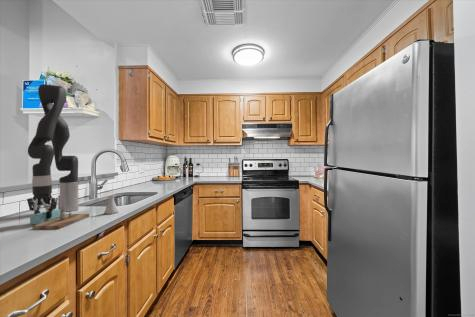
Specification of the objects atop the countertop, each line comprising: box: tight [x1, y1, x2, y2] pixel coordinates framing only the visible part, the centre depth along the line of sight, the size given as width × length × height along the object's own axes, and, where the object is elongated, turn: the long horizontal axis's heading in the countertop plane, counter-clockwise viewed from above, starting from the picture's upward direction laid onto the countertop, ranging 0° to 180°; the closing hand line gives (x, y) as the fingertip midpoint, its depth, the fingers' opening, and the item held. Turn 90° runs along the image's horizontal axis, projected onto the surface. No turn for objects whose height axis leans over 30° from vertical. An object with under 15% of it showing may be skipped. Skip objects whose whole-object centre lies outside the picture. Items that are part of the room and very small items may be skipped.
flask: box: [103, 194, 119, 215], centre depth 140 cm, size 7×7×10 cm
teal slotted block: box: [29, 209, 61, 225], centre depth 123 cm, size 5×13×4 cm, turn 179°
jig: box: [32, 212, 90, 230], centre depth 121 cm, size 12×22×5 cm, turn 0°
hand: (43, 218), depth 121 cm, fingers closed on teal slotted block, 5 cm apart
